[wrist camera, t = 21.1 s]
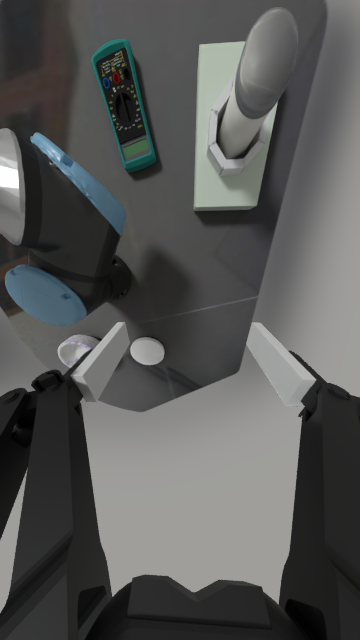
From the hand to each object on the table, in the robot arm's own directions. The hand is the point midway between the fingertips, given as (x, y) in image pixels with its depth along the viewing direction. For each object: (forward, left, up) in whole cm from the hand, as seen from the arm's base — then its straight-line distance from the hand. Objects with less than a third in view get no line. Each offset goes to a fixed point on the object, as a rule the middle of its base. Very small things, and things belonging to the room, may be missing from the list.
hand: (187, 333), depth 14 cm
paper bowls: (-40, -28, -32) cm, 58 cm away
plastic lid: (-16, -30, -32) cm, 47 cm away
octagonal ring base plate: (+9, +26, -32) cm, 42 cm away
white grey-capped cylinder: (+9, +26, -27) cm, 39 cm away
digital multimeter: (-12, +31, -32) cm, 46 cm away
